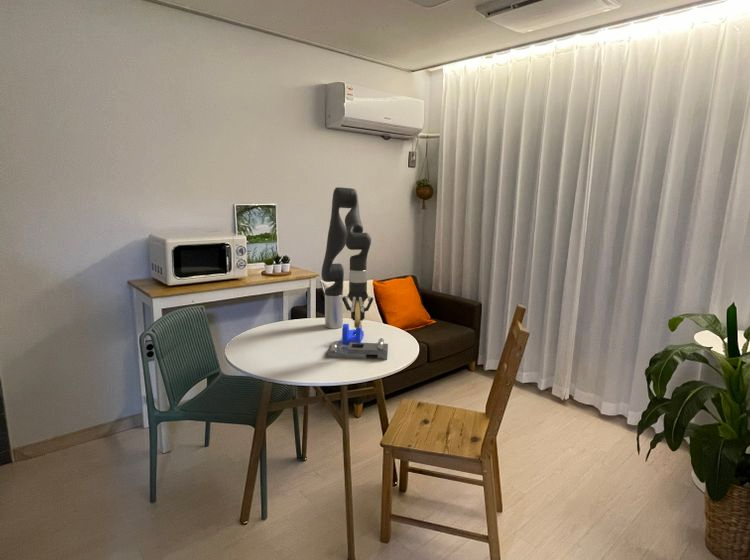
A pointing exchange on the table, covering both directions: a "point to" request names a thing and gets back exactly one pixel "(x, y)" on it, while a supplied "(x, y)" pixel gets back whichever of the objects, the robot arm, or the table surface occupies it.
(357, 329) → the bracket
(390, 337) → the table surface
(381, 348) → the grey plate with pins
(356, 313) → the pin
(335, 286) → the robot arm
